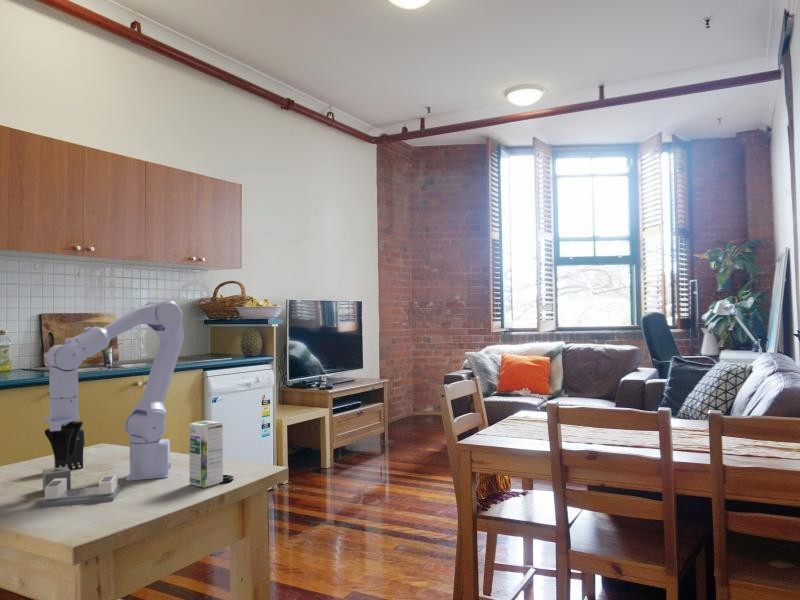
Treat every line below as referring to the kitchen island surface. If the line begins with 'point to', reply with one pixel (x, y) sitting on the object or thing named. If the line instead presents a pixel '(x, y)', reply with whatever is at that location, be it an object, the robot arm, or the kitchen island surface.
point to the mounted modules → (60, 486)
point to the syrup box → (205, 453)
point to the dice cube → (56, 476)
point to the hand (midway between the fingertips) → (64, 457)
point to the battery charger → (74, 455)
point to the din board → (81, 497)
